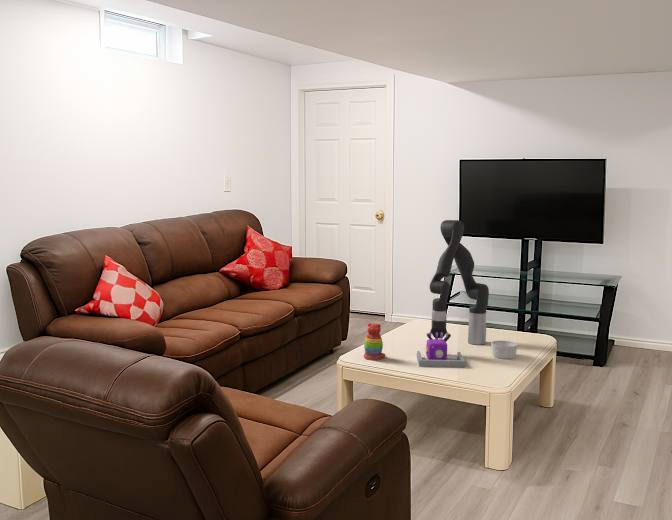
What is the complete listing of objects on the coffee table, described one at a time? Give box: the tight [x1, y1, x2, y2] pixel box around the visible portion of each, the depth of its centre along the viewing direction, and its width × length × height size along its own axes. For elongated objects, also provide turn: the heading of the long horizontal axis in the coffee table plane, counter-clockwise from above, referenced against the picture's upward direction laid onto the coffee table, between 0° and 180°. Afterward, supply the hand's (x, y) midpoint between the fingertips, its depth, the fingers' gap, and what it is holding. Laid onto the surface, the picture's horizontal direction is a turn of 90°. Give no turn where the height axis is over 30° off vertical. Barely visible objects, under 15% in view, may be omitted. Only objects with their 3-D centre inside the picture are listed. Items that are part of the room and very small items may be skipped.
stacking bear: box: [363, 322, 387, 361], centre depth 354 cm, size 11×10×18 cm
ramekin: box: [490, 339, 519, 360], centre depth 360 cm, size 13×13×7 cm
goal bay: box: [416, 350, 466, 368], centre depth 348 cm, size 22×16×3 cm
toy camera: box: [425, 338, 448, 360], centre depth 351 cm, size 11×14×10 cm
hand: (438, 351), depth 363 cm, fingers closed
